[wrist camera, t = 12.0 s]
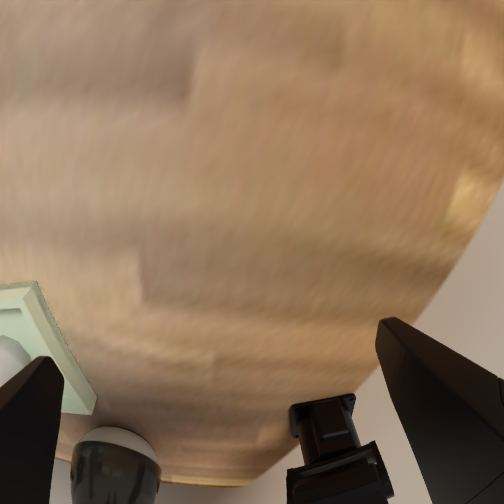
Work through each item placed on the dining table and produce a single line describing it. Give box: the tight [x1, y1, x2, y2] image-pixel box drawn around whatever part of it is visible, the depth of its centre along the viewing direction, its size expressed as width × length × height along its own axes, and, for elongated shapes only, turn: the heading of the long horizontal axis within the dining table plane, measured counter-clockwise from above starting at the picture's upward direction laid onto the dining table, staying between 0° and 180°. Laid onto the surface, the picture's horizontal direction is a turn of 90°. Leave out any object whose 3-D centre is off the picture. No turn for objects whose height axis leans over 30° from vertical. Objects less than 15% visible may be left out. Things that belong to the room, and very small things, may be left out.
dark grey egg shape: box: [70, 427, 161, 504], centre depth 24 cm, size 10×10×15 cm
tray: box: [0, 281, 97, 415], centre depth 22 cm, size 14×14×2 cm
